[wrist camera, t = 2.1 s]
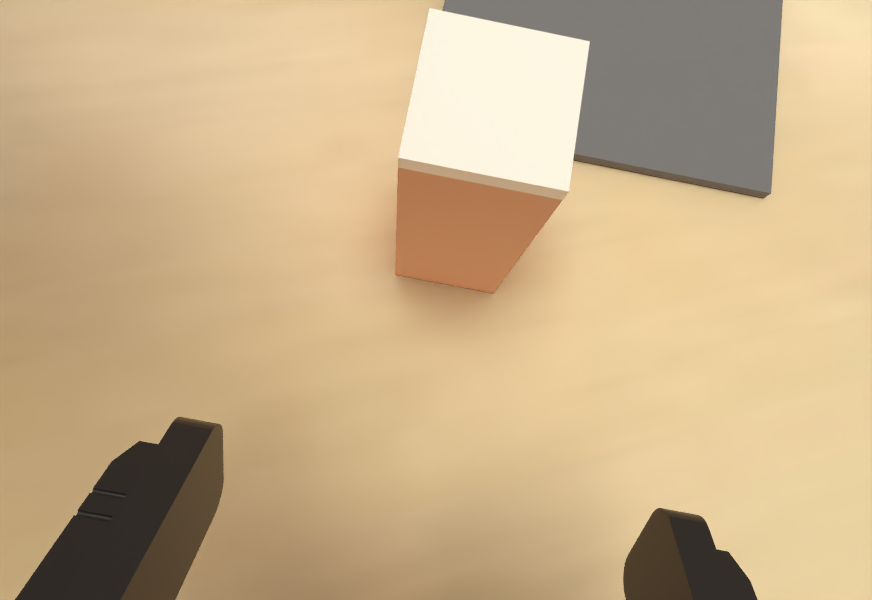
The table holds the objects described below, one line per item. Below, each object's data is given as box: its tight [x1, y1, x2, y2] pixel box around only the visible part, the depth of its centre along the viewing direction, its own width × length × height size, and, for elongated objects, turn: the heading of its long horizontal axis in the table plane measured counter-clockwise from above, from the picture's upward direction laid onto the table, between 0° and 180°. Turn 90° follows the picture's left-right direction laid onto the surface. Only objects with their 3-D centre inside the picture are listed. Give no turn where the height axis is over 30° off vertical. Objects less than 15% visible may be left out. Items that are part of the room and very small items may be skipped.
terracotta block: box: [395, 8, 590, 293], centre depth 22 cm, size 4×4×12 cm
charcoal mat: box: [443, 0, 783, 198], centre depth 31 cm, size 17×18×1 cm
